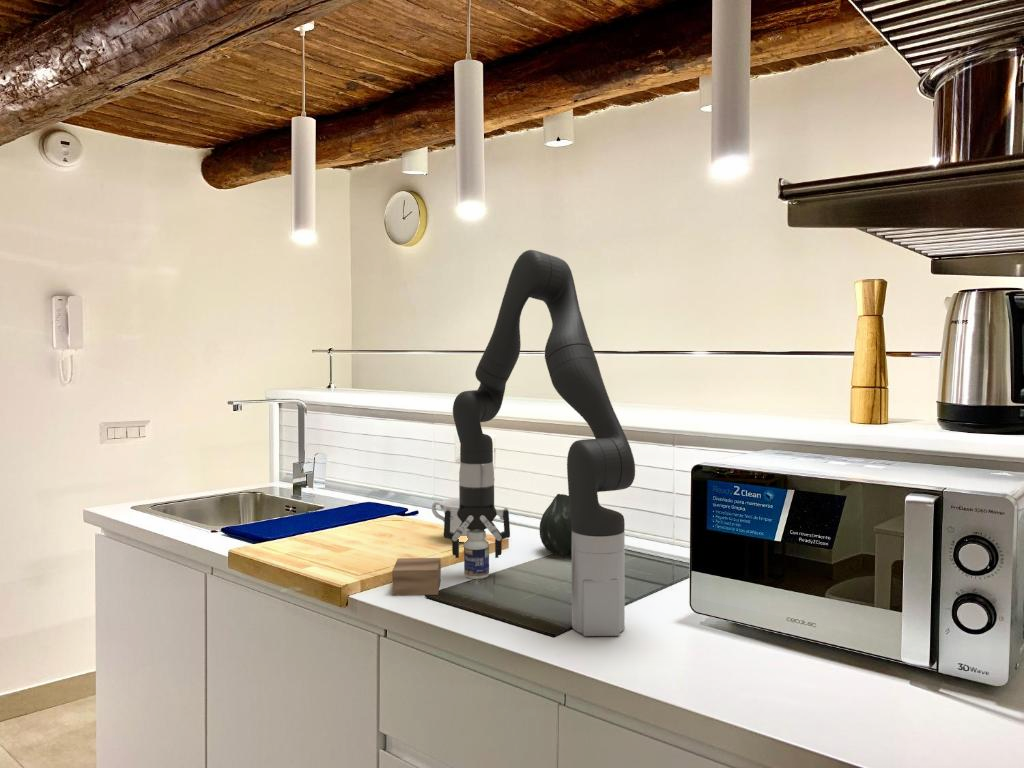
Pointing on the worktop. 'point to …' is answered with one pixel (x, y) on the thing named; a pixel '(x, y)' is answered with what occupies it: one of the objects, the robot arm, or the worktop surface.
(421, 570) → the plinth
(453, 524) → the teacup
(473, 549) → the pill bottle
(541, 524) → the squash
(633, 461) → the robot arm
